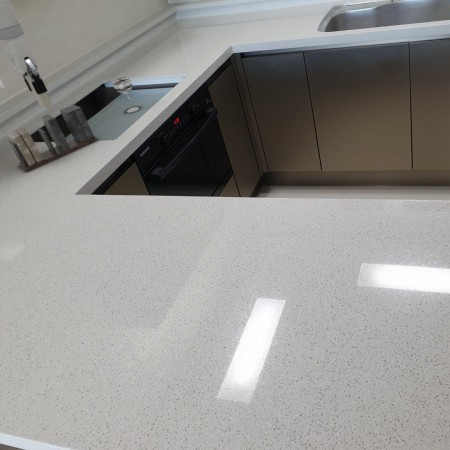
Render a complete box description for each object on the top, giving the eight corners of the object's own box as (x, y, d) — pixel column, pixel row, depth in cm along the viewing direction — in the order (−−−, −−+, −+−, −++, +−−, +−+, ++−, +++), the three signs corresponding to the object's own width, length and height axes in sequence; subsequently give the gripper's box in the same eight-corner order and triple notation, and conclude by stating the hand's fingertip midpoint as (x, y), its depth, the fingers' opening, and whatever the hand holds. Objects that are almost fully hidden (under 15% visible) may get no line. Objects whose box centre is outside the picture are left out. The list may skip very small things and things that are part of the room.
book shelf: (27, 171, 149) (7, 137, 142) (20, 165, 154) (0, 132, 147) (97, 140, 161) (81, 107, 154) (88, 136, 166) (72, 103, 159)
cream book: (46, 108, 147) (30, 78, 142) (39, 105, 152) (24, 75, 146) (53, 106, 148) (37, 75, 143) (46, 103, 153) (31, 73, 147)
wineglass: (131, 106, 185) (119, 77, 178) (144, 106, 182) (133, 76, 175) (120, 113, 180) (108, 83, 173) (134, 113, 178) (122, 83, 171)
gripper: (-12, 34, 140) (18, 91, 151) (4, 38, 129) (36, 99, 140) (13, 27, 144) (41, 83, 155) (31, 31, 133) (59, 91, 143)
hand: (38, 90), depth 147 cm, fingers closed on cream book, 6 cm apart
